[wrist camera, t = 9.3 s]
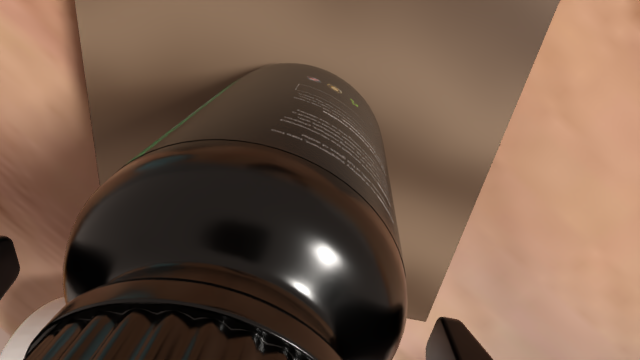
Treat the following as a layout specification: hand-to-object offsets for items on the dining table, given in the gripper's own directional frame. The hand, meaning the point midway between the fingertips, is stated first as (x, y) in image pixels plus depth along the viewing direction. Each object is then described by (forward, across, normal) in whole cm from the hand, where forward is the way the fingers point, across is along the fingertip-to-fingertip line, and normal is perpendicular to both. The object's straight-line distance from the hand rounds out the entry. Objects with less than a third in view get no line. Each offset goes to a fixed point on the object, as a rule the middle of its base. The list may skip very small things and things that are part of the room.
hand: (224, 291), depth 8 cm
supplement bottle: (+8, 0, 0) cm, 8 cm away
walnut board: (+10, 0, 0) cm, 10 cm away
